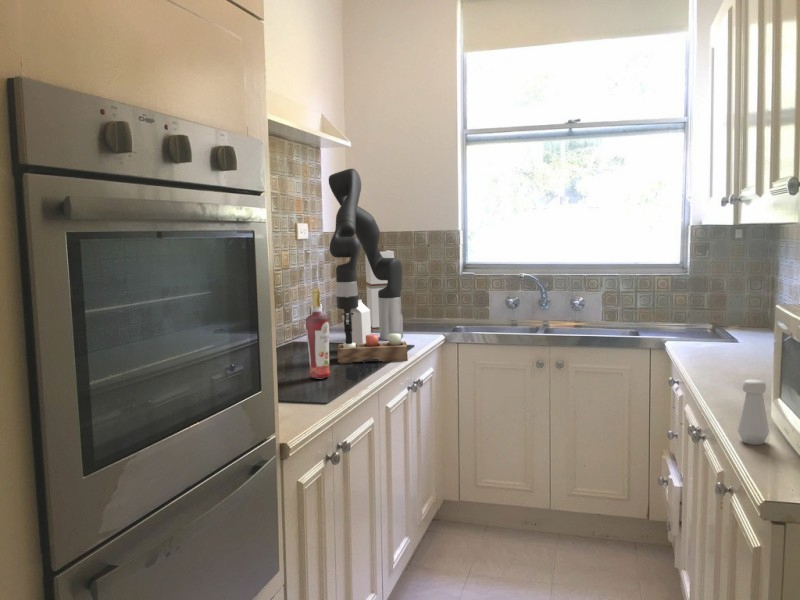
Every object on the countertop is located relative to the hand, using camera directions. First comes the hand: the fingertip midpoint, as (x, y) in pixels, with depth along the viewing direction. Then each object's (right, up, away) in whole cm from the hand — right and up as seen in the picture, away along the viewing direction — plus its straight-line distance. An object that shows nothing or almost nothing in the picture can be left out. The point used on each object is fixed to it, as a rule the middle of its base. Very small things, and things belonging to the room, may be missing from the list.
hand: (349, 343), depth 240 cm
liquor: (-7, -9, -26) cm, 28 cm away
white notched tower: (+10, +2, +67) cm, 68 cm away
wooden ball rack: (+8, -6, +1) cm, 10 cm away
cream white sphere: (+16, 0, +1) cm, 16 cm away
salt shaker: (+91, -14, -98) cm, 134 cm away
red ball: (+8, -1, 0) cm, 8 cm away
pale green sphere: (0, -3, 0) cm, 4 cm away
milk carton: (+2, -4, +19) cm, 19 cm away
